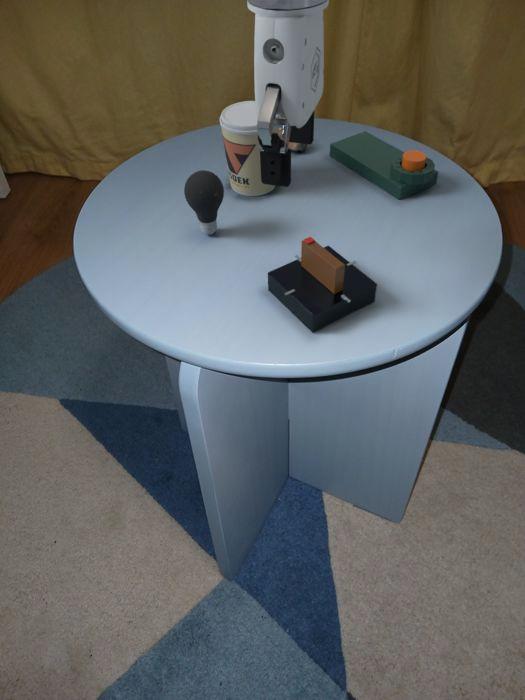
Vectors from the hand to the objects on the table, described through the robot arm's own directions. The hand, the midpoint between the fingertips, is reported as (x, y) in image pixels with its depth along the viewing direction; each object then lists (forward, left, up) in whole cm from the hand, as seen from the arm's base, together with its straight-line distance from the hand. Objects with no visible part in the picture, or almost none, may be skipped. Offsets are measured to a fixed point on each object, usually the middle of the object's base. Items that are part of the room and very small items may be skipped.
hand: (288, 162), depth 63 cm
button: (+8, -30, -14) cm, 34 cm away
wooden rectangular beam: (-5, -2, -14) cm, 15 cm away
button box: (+15, -30, -17) cm, 38 cm away
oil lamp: (+32, -21, -18) cm, 42 cm away
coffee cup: (+24, -10, -18) cm, 31 cm away
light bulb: (+16, +3, -18) cm, 24 cm away
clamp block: (-5, -2, -17) cm, 18 cm away
